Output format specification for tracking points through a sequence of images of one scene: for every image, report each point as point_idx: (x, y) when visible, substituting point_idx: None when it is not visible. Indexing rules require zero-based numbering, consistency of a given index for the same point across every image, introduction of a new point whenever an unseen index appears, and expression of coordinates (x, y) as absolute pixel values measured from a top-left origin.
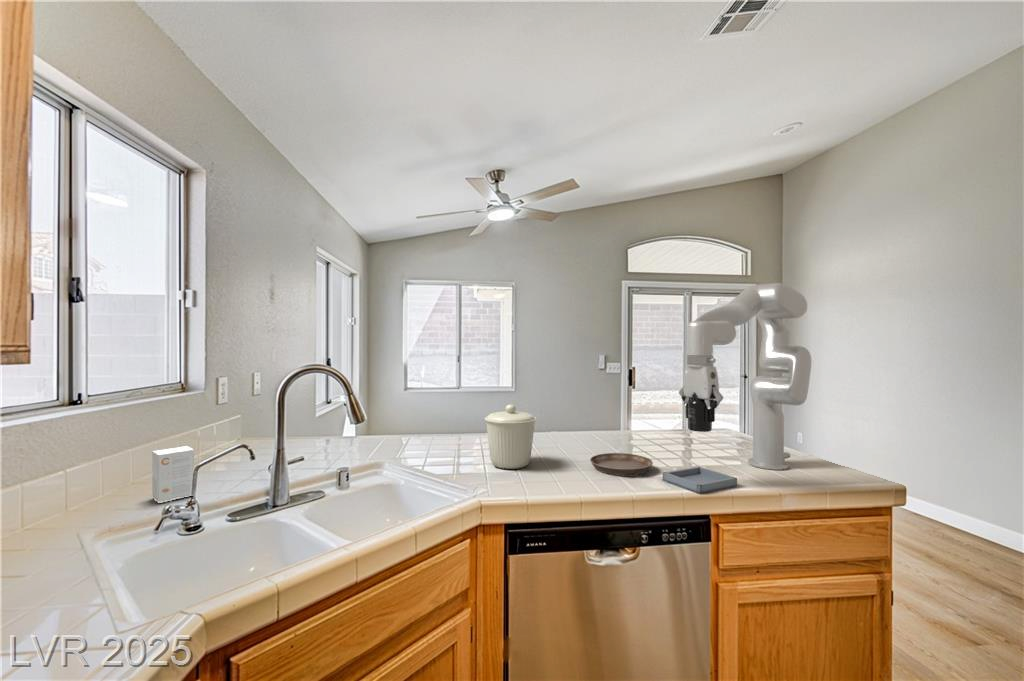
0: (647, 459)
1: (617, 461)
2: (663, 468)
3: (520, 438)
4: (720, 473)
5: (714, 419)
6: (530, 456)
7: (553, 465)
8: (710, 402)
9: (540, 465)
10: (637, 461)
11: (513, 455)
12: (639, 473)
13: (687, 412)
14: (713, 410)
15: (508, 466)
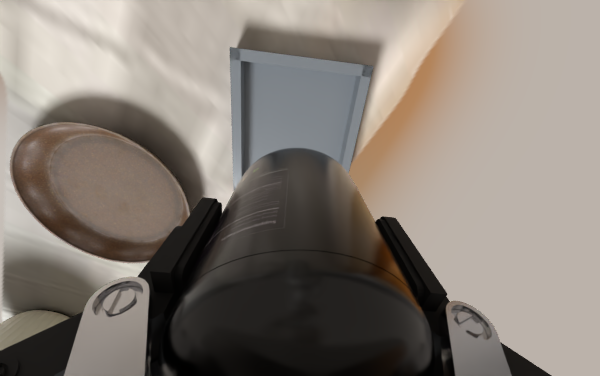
0: (104, 130)
1: (53, 161)
2: (145, 93)
3: None
4: (318, 64)
5: (398, 225)
6: (48, 326)
7: (66, 280)
8: (434, 368)
9: (62, 295)
10: (80, 131)
11: None
12: (184, 201)
13: None
14: (440, 308)
15: None
